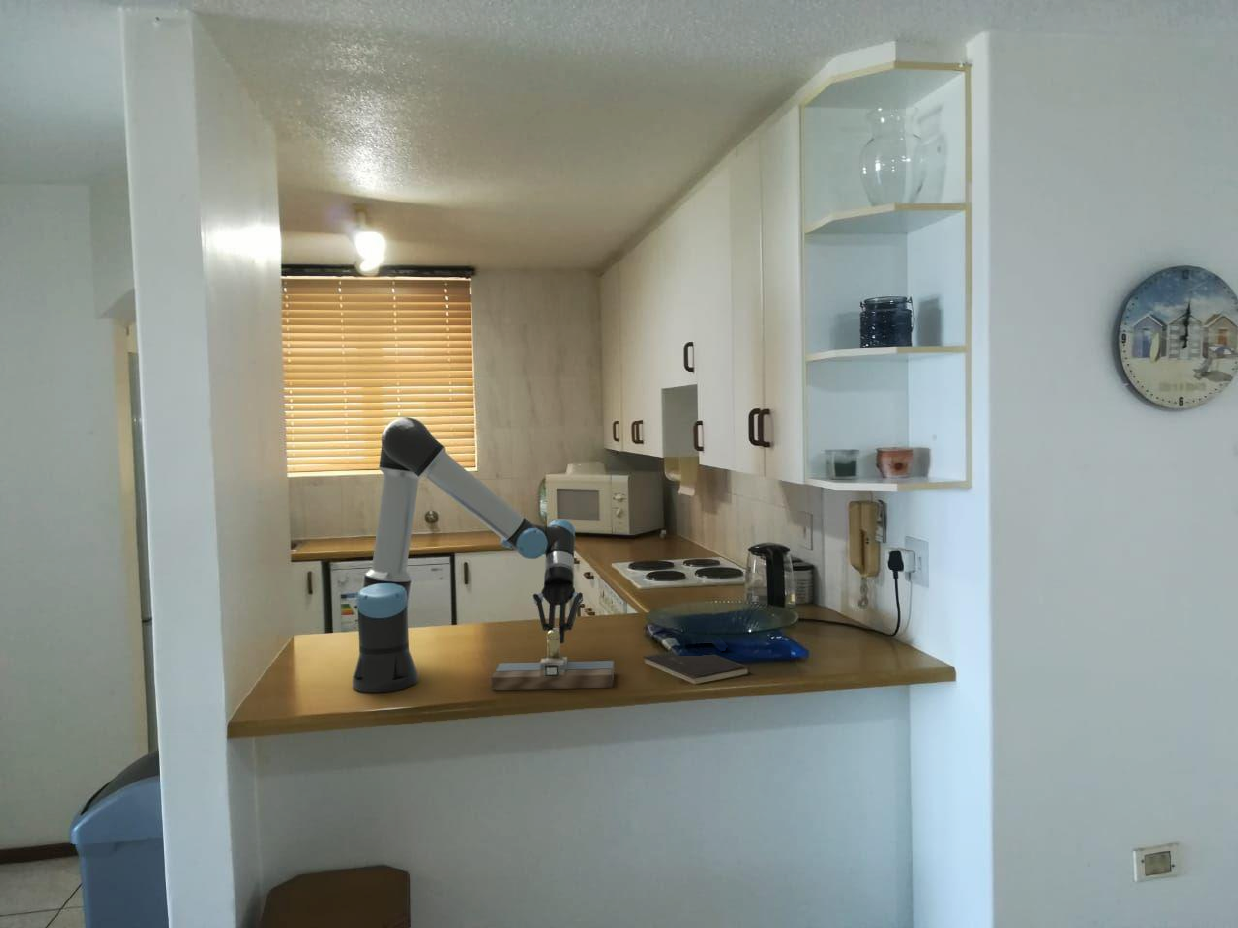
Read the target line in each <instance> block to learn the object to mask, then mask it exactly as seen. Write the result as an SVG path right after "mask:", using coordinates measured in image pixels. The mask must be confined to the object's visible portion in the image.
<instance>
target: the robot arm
mask: <svg viewBox="0 0 1238 928" xmlns="http://www.w3.org/2000/svg"><path fill="white" fill-rule="evenodd" d="M378 468H379V469H380V471H381V472H382V473H383V475H384V476H383V481H382V491H381V497H380V498H381V499H380V506H379V511H378V512H379V514H378V521H377V529H376V536H375V543H374V544H375V545H374V550H373V556H372V557H373V558H372V565H371V566H372V567H371V569H369V570H368V571H366V572H365V573H364V578H363V585H362V586H363V587H362V588H361V589H360V590H359V591H358V592H357V595H356V602H355V603H356V608H357V609H356V610H357V626H358V627H357V628H358V652H359V653H358V658H357V661H356V665H355V669H354V672H353V676H352V687H353V689H354V690H355V691H358V692H363V693H368V694H369V693H374V694H375V693H376V694H377V693H379V694H380V693H389V692H395V691H400V690H401V691H402V690H405V689H407V688H410V687H412V686H414V685H416V684H417V683H418V681H419V679H418V669H417V667H416V664H415V662H414V660H413V656H412V654H411V651H410V640H409V639H410V635H409V602H410V594H411V593H410V591H411V585H412V577H411V576H410V574H409V573H408V572H407V570H408V569H407V568H408V561H409V554H410V547H411V538H412V530H413V524H414V516H415V509H416V502H417V495H418V487H419V480H420V479H421V478H426V479H427V480H429V481H430V482H431V483H433V484H434V485H435V487H436V486H437V488H438V489H440V490H441V491H442V492H444V493H445V494H446V495H447V496H449V497H450V498H451V499H452V500H454V501H455V502H456V503H457V504H459V506H461V507H462V508H463V509H465V510H466V511H467V512H468V513H470V514H471V515H472V516H473V517H475V518H476V519H477V520H479V521H480V522H481V523H482V524H484V526H486V527H487V528H488V529H490V531H492V532H493V533H495V534H496V535H497V536H498V537H500V544H501V546H502V547H503V548H507V549H509V550H515V551H516V552H518V553H519V554H520V556H521V557H523V558H524V559H528V560H535V559H538V558H540V557H541V556H543V555H545V561H544V578H543V582H544V583H543V587H542V589H541V592H539V593H538V594H537V593H533V595H532V598H533V603H534V604H535V606H537V610H538V611H537V612H538V615H539V619H540V620H539V621H540V624H541V630H542V631H544V632H546V631H547V633H548V632H549V631H550V630H557V631H558V632H559V634H560V644H564V642H565V633H566V631H571V630H572V629H573V626H574V622H575V620H576V618H577V614H578V610H579V607H580V605H581V604H582V603H583V601H584V596H583V592H577V591H576V589H575V587H574V580H575V576H574V572H575V544H576V532H575V531H576V530H575V527H574V525H573V524H572V523H571V522H570V521H568V520H567V519H559V520H557V519H554V520H552V521H551V522H549V523H548V524H547V525H541V524H535V523H532V522H530V521H529V520H528V519H527V518H525V517H524V516H523V515H522V514H521V513H520V512H518V511H517V510H516V509H515V508H513V507H512V506H511V505H510V504H508V503H507V502H506V501H505V500H504V499H503V498H501V497H500V496H499V495H498V494H496V493H495V492H494V491H493V490H491V488H489V487H488V486H486V484H484V483H483V482H482V481H481V480H479V479H478V477H475V476H474V475H473V474H472V473H471V472H470V471H468V470H467V469H466V468H465V467H463V466H462V465H461V464H460V463H458V462H457V461H456V460H455V459H454V458H452V457H451V456H450V455H449V454H448V453H447V452H446V447H445V446H444V444H442V443H441V442H440V441H438V439H436V437H434V436H433V435H432V433H431V432H430V431H429V430H428V428H427V427H426V426H425V424H424V423H422V422H421V421H420V420H418V419H415V418H413V417H407V416H406V417H405V416H404V417H399V418H395V419H394V420H392V421H391V422H390V423H388V424H387V425H386V427H385V429H384V430H383V433H382V437H381V452H380V459H379V466H378ZM544 599H545V601H546V602H547V603H548V605H549V614H548V622H547V621H546V616H545V612H544V608H543V601H544ZM572 599H573V601H572V604H571V608H570V610H569V613H568V616H567V620H566V609H567V604H568V603H569V602H570V601H571V600H572ZM557 606H559V615H558V616H559V621H558V627H556V626H555V625H556V624H555V623H556V609H557Z"/></svg>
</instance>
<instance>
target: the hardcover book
mask: <svg viewBox="0 0 1238 928" xmlns="http://www.w3.org/2000/svg"><path fill="white" fill-rule="evenodd" d="M673 651H674V650H673ZM673 651H666V652H662V653H661V652H660V653H655V654H651V655H646V656H645V655H644V656H643V657H642V658H643V659H644V663H645V664H646V665H649V666H651V667H654V668H656V669H658V670H660V671H663V672H665V673H668V674H669V675H672V676H674V677H677V678H679V679H681V680H683V681H686V682H689V683H690V684H693V685H698V684H703V683H708V682H713V681H718V680H724V679H728V678H732V677H738V676H742V675H748V674H750V670H749V667H748V666H746V665H743V664H741V663H737V662H735V661H732V660H729V659H727V658H724V657H722V656H718V655H715V654H713V655H703V656H678V655H676V654H675V653H674V652H673Z"/></svg>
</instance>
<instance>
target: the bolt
mask: <svg viewBox="0 0 1238 928" xmlns="http://www.w3.org/2000/svg"><path fill="white" fill-rule="evenodd" d="M546 646H547V647H546V648H547V649H546V650H547V658H548V659H560V658H561V643H560V634H559V632H558V631H557V630H550V631H549V632H548V631H547V633H546ZM557 673H558V665H547V675H552V674H557Z"/></svg>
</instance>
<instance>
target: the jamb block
mask: <svg viewBox="0 0 1238 928" xmlns="http://www.w3.org/2000/svg"><path fill="white" fill-rule="evenodd" d="M539 663H540V670H539V671H496V670H495V672H494V673H493V674H492V676H491V690H492V691H511V690H512V691H513V690H515V691H516V690H518V691H519V690H562V689H565V690H567V689H608V688H613V685H614V680H613V669H584V670H565V658H563V657H560V659H546V658H541V659H540V662H539ZM547 665H558V673H557V674H552V675H547Z"/></svg>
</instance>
